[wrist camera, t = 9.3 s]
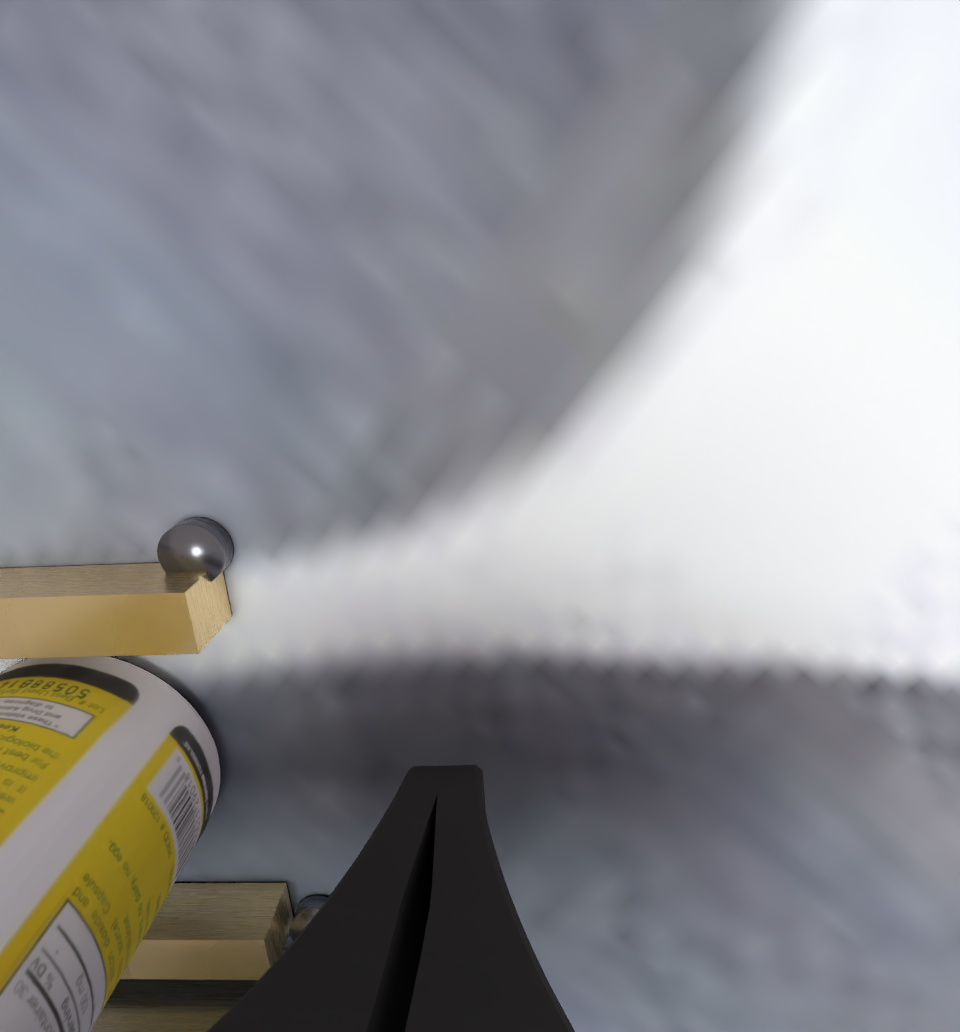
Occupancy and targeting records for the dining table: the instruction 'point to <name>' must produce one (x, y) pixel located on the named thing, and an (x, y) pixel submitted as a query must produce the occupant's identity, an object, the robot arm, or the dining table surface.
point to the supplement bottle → (90, 828)
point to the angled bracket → (188, 906)
